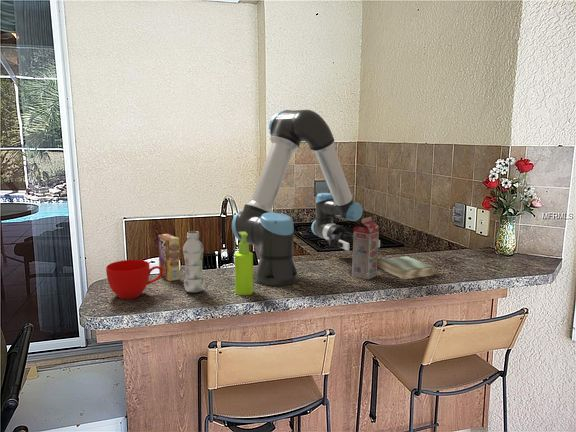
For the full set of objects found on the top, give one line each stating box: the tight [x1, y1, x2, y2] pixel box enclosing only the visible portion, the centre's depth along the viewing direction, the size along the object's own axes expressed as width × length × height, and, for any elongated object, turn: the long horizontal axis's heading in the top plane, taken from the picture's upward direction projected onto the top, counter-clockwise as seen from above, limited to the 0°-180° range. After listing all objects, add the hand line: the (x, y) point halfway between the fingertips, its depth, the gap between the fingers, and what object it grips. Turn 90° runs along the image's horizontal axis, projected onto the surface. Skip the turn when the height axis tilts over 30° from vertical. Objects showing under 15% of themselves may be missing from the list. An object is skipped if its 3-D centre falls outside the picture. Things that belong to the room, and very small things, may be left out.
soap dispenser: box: [234, 231, 254, 296], centre depth 150 cm, size 6×7×20 cm
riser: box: [377, 255, 436, 280], centre depth 176 cm, size 14×16×3 cm
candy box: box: [157, 233, 181, 282], centre depth 164 cm, size 9×4×15 cm, turn 39°
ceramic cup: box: [105, 259, 162, 300], centre depth 147 cm, size 13×17×10 cm
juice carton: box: [351, 216, 380, 280], centre depth 168 cm, size 7×7×22 cm
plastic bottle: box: [182, 230, 206, 294], centre depth 149 cm, size 6×7×20 cm
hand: (364, 245), depth 171 cm, fingers open, 13 cm apart
